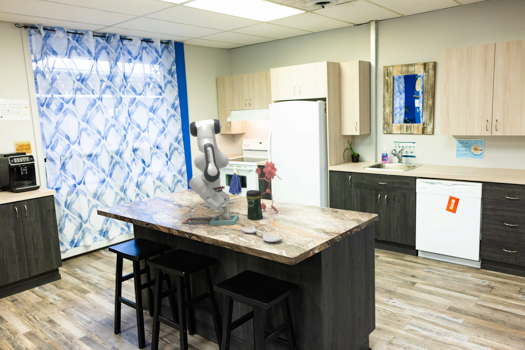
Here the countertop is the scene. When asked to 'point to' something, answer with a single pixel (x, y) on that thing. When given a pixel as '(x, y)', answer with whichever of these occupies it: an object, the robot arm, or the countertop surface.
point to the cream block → (225, 212)
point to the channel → (197, 219)
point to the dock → (224, 222)
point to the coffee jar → (254, 204)
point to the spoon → (265, 236)
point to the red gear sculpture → (269, 173)
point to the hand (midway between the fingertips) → (225, 210)
